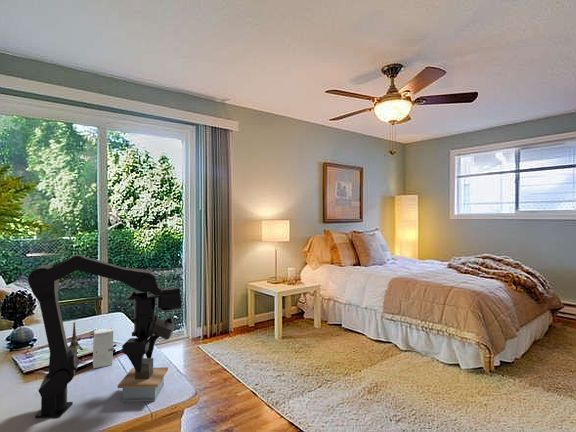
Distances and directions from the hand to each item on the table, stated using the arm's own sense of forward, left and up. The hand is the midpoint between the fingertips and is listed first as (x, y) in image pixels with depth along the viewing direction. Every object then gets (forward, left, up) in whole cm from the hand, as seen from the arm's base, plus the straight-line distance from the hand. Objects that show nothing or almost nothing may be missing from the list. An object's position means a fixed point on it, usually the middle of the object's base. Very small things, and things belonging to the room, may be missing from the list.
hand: (144, 365), depth 104 cm
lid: (0, 0, -4) cm, 4 cm away
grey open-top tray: (0, 0, -8) cm, 8 cm away
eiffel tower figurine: (+32, +36, -9) cm, 49 cm away
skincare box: (+21, +21, -9) cm, 31 cm away
